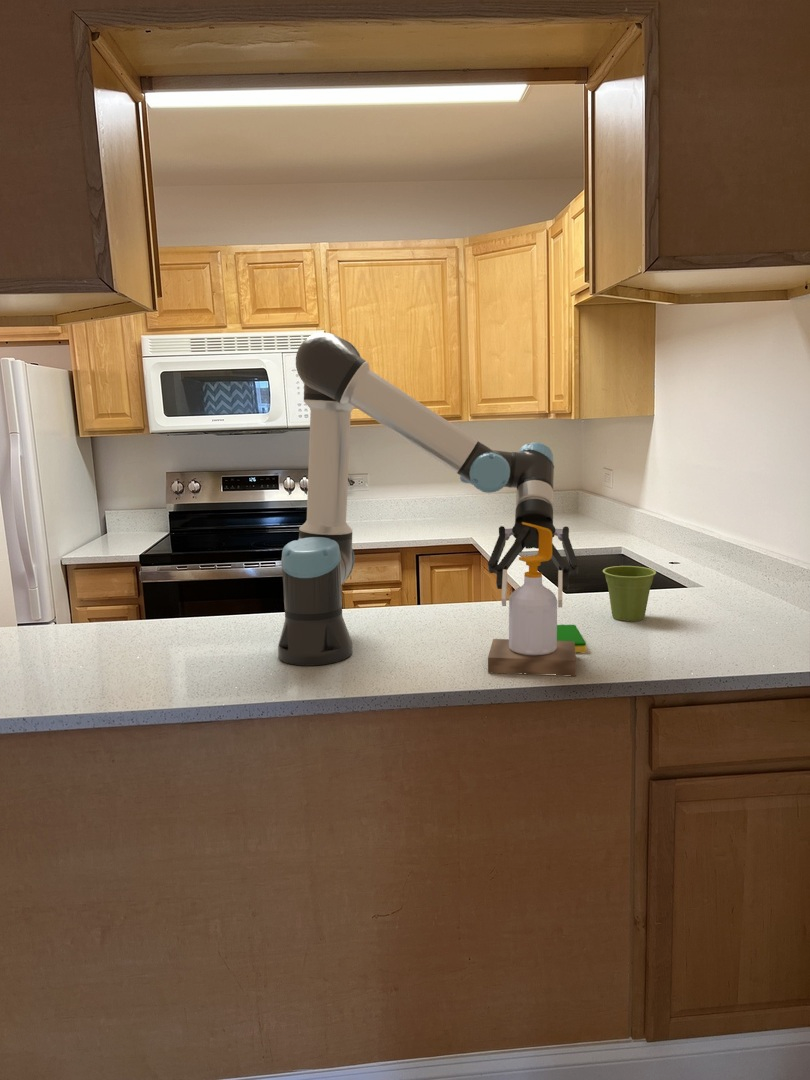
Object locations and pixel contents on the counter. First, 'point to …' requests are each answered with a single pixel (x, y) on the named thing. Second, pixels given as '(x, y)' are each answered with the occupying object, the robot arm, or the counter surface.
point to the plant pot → (628, 591)
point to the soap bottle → (534, 606)
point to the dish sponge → (571, 636)
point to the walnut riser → (532, 660)
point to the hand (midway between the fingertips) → (531, 603)
